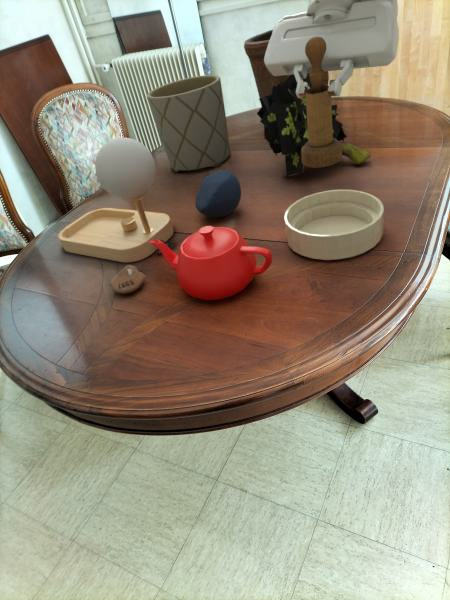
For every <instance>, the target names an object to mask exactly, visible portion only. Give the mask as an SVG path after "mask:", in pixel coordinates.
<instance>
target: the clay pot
mask: <svg viewBox="0 0 450 600" xmlns="http://www.w3.org/2000/svg"><path fill="white" fill-rule="evenodd" d="M272 32H273V29H270V30H268V31H265V32H262V33H259V34H256V35H254V36H251V37H250V38H247V39H246V40H244V43H243V48H244V51H245V54H246V56H247V58H248V60H249V63H250V67H251V70H252V74H253V77H254V81H255V86H256V89H257V93H258V97H259V98H262V97H266V96H268V95H271V94H272V89H273V86H278V84H281V83H280V81H281V82H282V83H284V82H285V81H286V80H287V79H288V78H289V77H290V76H291V75H283V76H273V75H272V74H271V73H270V71H269V70H268V69H267V67H266V65H265V63H264V57H265V53H266V50H267V47H268V44H269V41H270V38H271V36H272ZM307 75H308V73H307ZM329 78H330V73H329V71H325V76H324V81H323V85H326V86H329V82H330V79H329ZM261 96H262V97H261ZM259 98H258V99H259ZM260 106H261V107H262V105H261V104H260Z"/></svg>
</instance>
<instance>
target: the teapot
mask: <svg viewBox="0 0 450 600" xmlns="http://www.w3.org/2000/svg"><path fill="white" fill-rule="evenodd" d="M149 242H150V243H151V244H153V245H154V246H155V247H156V248H157V249H159V250H160V251H161V253H162V254H161V253H160V254H161V255H162V257H163V258H164V260H165V262H166V264H167V265H168V267H169V268H170V270H173V271H175V272H176V276H177V280H178V285H179V287H180V288H181V290H182V291H183V292H185V293H186V294H187V295H189V296H191V297H193V298H196V299H200V300H204V301H213V300H214V301H216V300H218V301H219V300H223V299H226V298H229V297H233V296H234V295H236V294H238V293H240V292H241V291H243V290H245V289H246V287H247V286H248V285H249V284H250V282H251V281H252V280H253V279H254V277H255V276H257V275H262V274H263V273H264V272H265V271H267V270H268V269H269V268H270V266H271V265H272V263H273V254H272V252H271V250H270V249H268V248H266V247H261V246H250V245H249V244H248V242H247V241H246V240H245V239H244V238H243V237H242V235H241V234H240V233H239V232H238V231H237V230H235V229H233V228H231V227H224V226H215V227H214V226H212V225H205V226H202V227H201V228H199V230H198V231H196V232H194V233H192V234H190V235H188V236H187V237H186V238H185V239H184V240H183V241H182V242H181V244H180V247H179V251H178V254H177V253H176V252H174V251H173V250H172V249H171V248H169V247H170V246H169V247H168V246H167V245H166V244H167V243H163V242H162V241H160V240H150V241H149ZM255 255H260V256H263V257H264V259H265V260H264V263H263V265H261V266H259V267H258V266H257V260H256V256H255Z"/></svg>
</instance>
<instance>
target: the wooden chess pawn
mask: <svg viewBox="0 0 450 600" xmlns="http://www.w3.org/2000/svg"><path fill="white" fill-rule="evenodd" d="M325 52H326V42H325V40H324V39H323V38H322V37H314V38H311V39H310V40H308V42H307V43H306V46H305V53H306V56H307V58H308V59H309V61H310V63H311V65H312V69H311V72H310V73H309V76H310V80H311V84H312V88H310V89H308V90H306V91H305V96H306V109H307V123H308V142H307V143H306V144H305V145H304V146H303V147H302V149H301V155H302V163H303V165H304V167H307V168H313V169H314V168H315V169H316V168H325V167H330V166H333V165H335V164H337V163H339V162H341V160H342V158H343V156H342V145H341V144H342V142H340V141H338V140H336V139H335V138H333V132H332V105H333V104H332V96H330V94H329V93H328V87H329V86H330V85H328V86H326V85H323V81H324V76H325V71H324V70H322V67H321V64H322V60H323V58H324V55H325Z"/></svg>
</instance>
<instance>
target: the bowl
mask: <svg viewBox="0 0 450 600" xmlns="http://www.w3.org/2000/svg"><path fill="white" fill-rule="evenodd" d="M384 207H385V206H384V204H383V202H382V201H381V200H380V198H378V197H376V196H375V195H374V194H371V193H368V192H366V191H361V190H355V189H331V190H325V191H319V192H314V193H312V194H309V195H306V196H303V197H301V198H299V199H297V200H296V201H294V202H293V203H292V204H290V205H289V206H288V207H287V209H286V210H285V211H284V216H283V221H284V231H285V237H286V242H287V245H288V247H289V248H290V249H291V250H292V251H293V252H294V253H296V254H298V255H299V256H303V257H306V258H309V259H315V260H323V261H332V260H333V261H334V260H343V259H347V258H354V257H356V256H359V255H362V254H365V253H366V252H367V251H370V250H371V249H373V248H374V247H375V246H377V244H379V243H380V242H381V239H382V238H383V235H384V220H385V219H384V217H385V208H384Z"/></svg>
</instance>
